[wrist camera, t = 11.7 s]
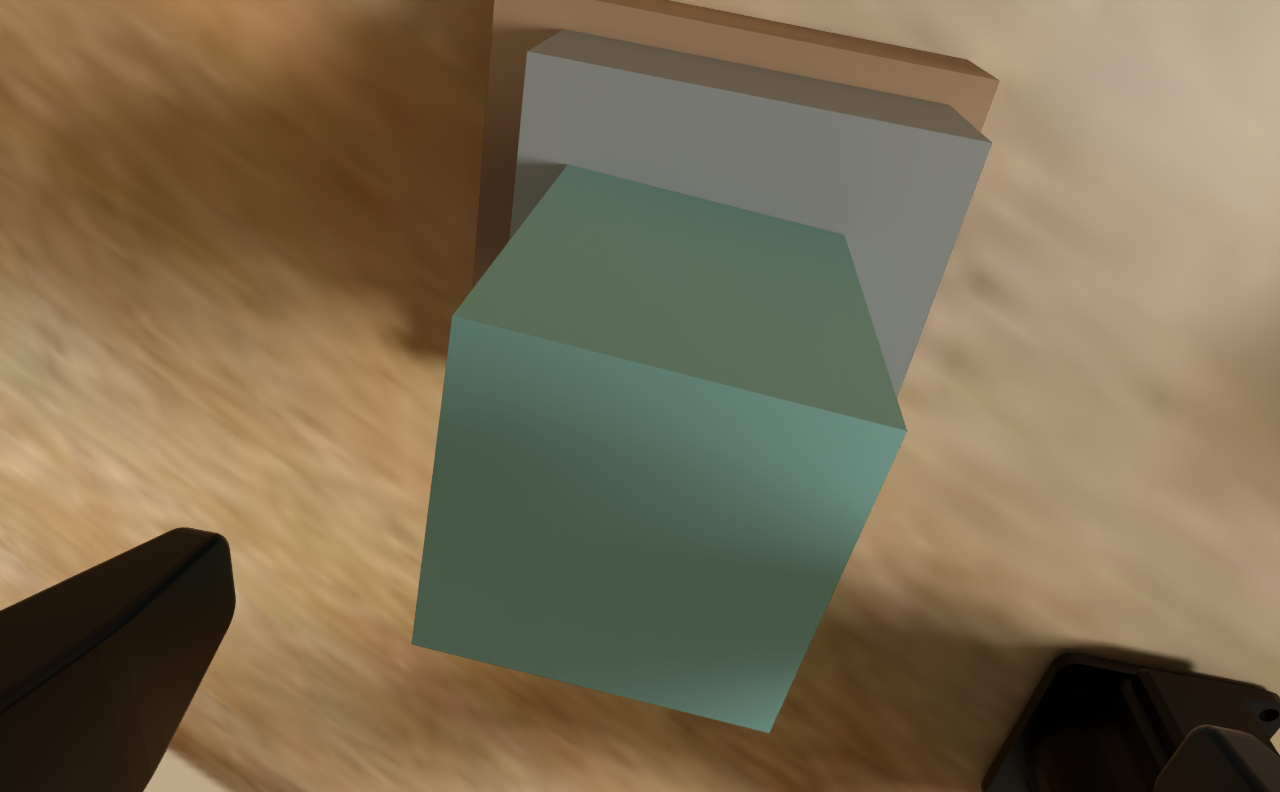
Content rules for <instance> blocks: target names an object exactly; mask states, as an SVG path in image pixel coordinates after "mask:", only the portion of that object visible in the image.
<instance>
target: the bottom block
mask: <svg viewBox="0 0 1280 792" xmlns="http://www.w3.org/2000/svg"><path fill="white" fill-rule="evenodd" d="M564 29H567V30H572V31H577V32H582V33H587V34H592V35H597V36H602V37H607V38H612V39H618V40H623V41H628V42H633V43H638V44H643V45H648V46H653V47H658V48H663V49H668V50H673V51H679V52H684V53H689V54H694V55H699V56H704V57H709V58H714V59H719V60H724V61H729V62H734V63H740V64H745V65H750V66H755V67H760V68H765V69H770V70H775V71H780V72H785V73H790V74H796V75H801V76H806V77H811V78H816V79H821V80H826V81H831V82H836V83H841V84H846V85H851V86H857V87H862V88H867V89H872V90H877V91H882V92H887V93H892V94H897V95H902V96H907V97H912V98H918V99H923V100H928V101H933V102H938V103H943V104H948V105H950V106H951V107H953V108H954V109H955V110H956V111H957V112H958V113H959V114H960V115H961V116H963V117H964V118H965V119H966V120H967V121H968V122H969V123H970V124H972V125H973V126H974V127H975V128H976V129H977V130H978V131H979V132H981V130H982V127H983V124H984V122H985V119H986V116H987V113H988V111H989V108H990V105H991V103H992V100H993V97H994V94H995V92H996V89H997V86H998V84H999V80H998V79H996V78H995V77H993V76H992V75H990V74H989V73H987V72H986V71H984V70H983V69H981V68H979V67H978V66H976V65H975V64H973V63H972V62H970V61H969V60H966V59H961V58H956V57H951V56H946V55H941V54H936V53H931V52H926V51H921V50H915V49H910V48H905V47H900V46H895V45H890V44H885V43H880V42H875V41H870V40H865V39H860V38H855V37H850V36H845V35H840V34H835V33H830V32H825V31H820V30H815V29H810V28H805V27H800V26H795V25H790V24H785V23H779V22H774V21H769V20H764V19H759V18H754V17H749V16H744V15H739V14H734V13H729V12H724V11H719V10H714V9H709V8H704V7H699V6H694V5H689V4H684V3H679V2H674V1H669V0H494V10H493V24H492V37H491V51H490V64H489V78H488V91H487V105H486V118H485V131H484V145H483V158H482V172H481V185H480V199H479V212H478V225H477V239H476V252H475V266H474V279H473V288H474V287H475V285H476V284H477V283H478V281H479V280H480V279H481V277H482V276H483V275H484V274H485V272H486V271H487V270H488V268H489V267H490V266H491V264H492V263H493V262H494V260H495V259H496V258H497V257H498V255H499V254H500V253H501V251H502V250H503V249H504V247H505V246H506V245H507V243H508V242H509V239H510V229H511V218H512V208H513V197H514V186H515V176H516V165H517V155H518V144H519V133H520V123H521V112H522V102H523V91H524V80H525V70H526V59H527V51H529V50H530V49H532V48H534V47H535V46H537V45H539V44H540V43H542V42H544V41H545V40H547V39H549V38H550V37H552V36H554V35H555V34H557V33H559V32H560V31H562V30H564Z"/></svg>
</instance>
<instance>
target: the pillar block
mask: <svg viewBox="0 0 1280 792" xmlns="http://www.w3.org/2000/svg"><path fill="white" fill-rule="evenodd" d="M906 432H907V429H906V426H905V423H904V420H903V417H902V413H901V410H900V407H899V404H898V401H897V398H896V395H895V392H894V388H893V385H892V382H891V379H890V376H889V373H888V370H887V366H886V363H885V360H884V357H883V354H882V351H881V348H880V345H879V341H878V338H877V335H876V332H875V329H874V326H873V323H872V319H871V316H870V313H869V310H868V307H867V304H866V301H865V298H864V294H863V291H862V288H861V285H860V282H859V279H858V276H857V272H856V269H855V266H854V263H853V260H852V257H851V254H850V251H849V247H848V244H847V241H846V238H845V235H843V234H839V233H835V232H831V231H827V230H823V229H819V228H815V227H811V226H807V225H804V224H800V223H796V222H792V221H788V220H784V219H780V218H776V217H772V216H768V215H764V214H761V213H757V212H753V211H749V210H745V209H741V208H737V207H733V206H729V205H725V204H722V203H718V202H714V201H710V200H706V199H702V198H698V197H694V196H690V195H686V194H682V193H679V192H675V191H671V190H667V189H663V188H659V187H655V186H651V185H647V184H643V183H640V182H636V181H632V180H628V179H624V178H620V177H616V176H612V175H608V174H604V173H600V172H596V171H592V170H589V169H585V168H581V167H577V166H573V165H569V164H568V165H567V166H566V168H565V169H564V170H563V171H562V173H561V174H560V175H559V177H558V178H557V179H556V181H555V182H554V183H553V185H552V186H551V187H550V188H549V190H548V191H547V192H546V194H545V195H544V196H543V198H542V199H541V200H540V202H539V203H538V204H537V205H536V207H535V208H534V209H533V211H532V212H531V213H530V215H529V216H528V217H527V219H526V220H525V221H524V223H523V224H522V225H521V226H520V228H519V229H518V230H517V232H516V233H515V234H514V236H513V237H512V238H511V240H510V241H509V242H508V243H507V245H506V246H505V247H504V249H503V250H502V251H501V253H500V254H499V255H498V257H497V258H496V259H495V260H494V262H493V263H492V264H491V266H490V267H489V268H488V270H487V271H486V272H485V274H484V275H483V276H482V277H481V279H480V280H479V281H478V283H477V284H476V285H475V287H474V288H473V289H472V291H471V292H470V293H469V294H468V296H467V297H466V298H465V300H464V301H463V302H462V304H461V305H460V306H459V308H458V309H457V310H456V311H455V313H454V314H453V315H452V322H451V330H450V338H449V346H448V354H447V362H446V370H445V379H444V387H443V395H442V403H441V411H440V419H439V427H438V435H437V443H436V451H435V459H434V467H433V476H432V484H431V492H430V500H429V508H428V516H427V524H426V532H425V540H424V548H423V556H422V564H421V573H420V581H419V589H418V597H417V605H416V613H415V621H414V629H413V637H412V645H416V646H420V647H424V648H428V649H432V650H436V651H440V652H444V653H448V654H452V655H456V656H460V657H464V658H468V659H472V660H476V661H480V662H484V663H488V664H492V665H497V666H501V667H505V668H509V669H513V670H517V671H521V672H525V673H529V674H533V675H537V676H541V677H545V678H549V679H553V680H557V681H561V682H565V683H569V684H573V685H577V686H581V687H585V688H589V689H593V690H597V691H601V692H605V693H609V694H613V695H617V696H621V697H625V698H629V699H633V700H637V701H642V702H646V703H650V704H654V705H658V706H662V707H666V708H670V709H674V710H678V711H682V712H686V713H690V714H694V715H698V716H702V717H706V718H710V719H714V720H718V721H722V722H726V723H730V724H734V725H738V726H742V727H746V728H750V729H754V730H758V731H762V732H766V733H770V731H771V728H772V726H773V724H774V722H775V720H776V717H777V715H778V713H779V711H780V709H781V706H782V704H783V702H784V700H785V698H786V695H787V693H788V691H789V689H790V687H791V684H792V682H793V680H794V678H795V676H796V674H797V671H798V669H799V667H800V665H801V663H802V660H803V658H804V656H805V654H806V652H807V649H808V647H809V645H810V643H811V641H812V638H813V636H814V634H815V632H816V630H817V627H818V625H819V623H820V621H821V619H822V617H823V614H824V612H825V610H826V608H827V606H828V603H829V601H830V599H831V597H832V595H833V592H834V590H835V588H836V586H837V584H838V581H839V579H840V577H841V575H842V573H843V570H844V568H845V566H846V564H847V562H848V559H849V557H850V555H851V553H852V551H853V549H854V546H855V544H856V542H857V540H858V538H859V535H860V533H861V531H862V529H863V527H864V524H865V522H866V520H867V518H868V516H869V513H870V511H871V509H872V507H873V505H874V502H875V500H876V498H877V496H878V494H879V491H880V489H881V487H882V485H883V483H884V481H885V478H886V476H887V474H888V472H889V470H890V467H891V465H892V463H893V461H894V459H895V456H896V454H897V452H898V450H899V448H900V445H901V443H902V441H903V439H904V437H905V434H906Z"/></svg>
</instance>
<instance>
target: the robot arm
mask: <svg viewBox="0 0 1280 792" xmlns="http://www.w3.org/2000/svg"><path fill="white" fill-rule="evenodd" d="M235 603H236V596H235V588H234V580H233V571H232V563H231V554H230V548H229V543H228V541H227V540H226V538H225V537H224V536H222V535H220V534H218V533H214V532H208V531H203V530H198V529H193V528H188V527H181V528H176V529H174V530H171V531H169V532H166V533H164V534H162V535H160V536H158V537H156V538H154V539H152V540H149V541H147V542H145V543H143V544H141V545H139V546H137V547H135V548H132V549H130V550H128V551H126V552H124V553H122V554H120V555H118V556H115V557H113V558H111V559H109V560H107V561H105V562H103V563H101V564H98V565H96V566H94V567H92V568H90V569H88V570H86V571H84V572H81V573H79V574H77V575H75V576H73V577H71V578H69V579H67V580H65V581H62V582H60V583H58V584H56V585H54V586H52V587H50V588H48V589H45V590H43V591H41V592H39V593H37V594H35V595H33V596H31V597H28V598H26V599H24V600H22V601H20V602H18V603H16V604H14V605H11V606H9V607H7V608H5V609H3V610H1V611H0V792H143V791H144V789H145V788H146V786H147V784H148V783H149V781H150V779H151V778H152V776H153V774H154V772H155V771H156V769H157V767H158V765H159V763H160V761H161V759H162V758H163V756H164V754H165V752H166V750H167V748H168V746H169V744H170V742H171V740H172V738H173V736H174V734H175V732H176V730H177V728H178V726H179V724H180V723H181V721H182V719H183V717H184V715H185V713H186V711H187V709H188V707H189V705H190V703H191V701H192V699H193V697H194V695H195V693H196V691H197V689H198V687H199V685H200V683H201V681H202V679H203V677H204V675H205V673H206V671H207V669H208V667H209V665H210V663H211V661H212V659H213V657H214V655H215V653H216V651H217V649H218V647H219V645H220V644H221V642H222V640H223V638H224V636H225V634H226V632H227V630H228V628H229V625H230V623H231V621H232V618H233V615H234V610H235ZM1071 670H1075V671H1072V672H1069V671H1071ZM1279 728H1280V697H1279V696H1278V695H1277V694H1275V693H1273V692H1269V691H1264V690H1259V689H1254V688H1249V687H1244V686H1239V685H1234V684H1229V683H1224V682H1219V681H1214V680H1209V679H1204V678H1199V677H1194V676H1189V675H1184V674H1179V673H1174V672H1169V671H1164V670H1159V669H1154V668H1149V667H1143V666H1138V665H1133V664H1128V663H1123V662H1118V661H1113V660H1108V659H1103V658H1098V657H1093V656H1088V655H1083V654H1078V653H1066V654H1062V655H1060V656H1058V657H1056V658H1055V659H1054V660H1053V662H1052V663H1051V665H1050V666H1049V668H1048V670H1047V672H1046V673H1045V675H1044V677H1043V678H1042V680H1041V682H1040V684H1039V685H1038V687H1037V689H1036V690H1035V692H1034V694H1033V696H1032V697H1031V699H1030V701H1029V702H1028V704H1027V706H1026V708H1025V709H1024V711H1023V713H1022V715H1021V716H1020V718H1019V720H1018V721H1017V723H1016V725H1015V727H1014V728H1013V730H1012V732H1011V733H1010V735H1009V737H1008V739H1007V740H1006V742H1005V744H1004V746H1003V747H1002V749H1001V751H1000V752H999V754H998V756H997V758H996V759H995V761H994V763H993V764H992V766H991V768H990V770H989V771H988V773H987V775H986V776H985V778H984V780H983V782H982V784H981V789H982V792H1280V755H1279V754H1278V752H1277V751H1276V749H1275V747H1274V746H1273V744H1272V743H1271V741H1270V739H1271V738H1272V736H1273V735H1274V734H1275V733H1276V732H1277V730H1278V729H1279Z"/></svg>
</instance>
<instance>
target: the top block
mask: <svg viewBox="0 0 1280 792" xmlns="http://www.w3.org/2000/svg"><path fill="white" fill-rule="evenodd" d="M991 144H992V142H991V141H989V140H988V139H987V138H986V137H985V136H984V135H983V134H982V133H980V132H979V131H978V130H977V129H976V128H975V127H974V126H973V125H972V124H970V123H969V122H968V121H967V120H966V119H965V118H964V117H963V116H961V115H960V114H959V113H958V112H957V111H956V110H955V109H954V108H953V107H951V106H950V105H948V104H943V103H938V102H933V101H928V100H923V99H918V98H912V97H907V96H902V95H897V94H892V93H887V92H882V91H877V90H872V89H867V88H862V87H857V86H851V85H846V84H841V83H836V82H831V81H826V80H821V79H816V78H811V77H806V76H801V75H796V74H790V73H785V72H780V71H775V70H770V69H765V68H760V67H755V66H750V65H745V64H740V63H734V62H729V61H724V60H719V59H714V58H709V57H704V56H699V55H694V54H689V53H684V52H679V51H673V50H668V49H663V48H658V47H653V46H648V45H643V44H638V43H633V42H628V41H623V40H618V39H612V38H607V37H602V36H597V35H592V34H587V33H582V32H577V31H572V30H567V29H564V30H562V31H560V32H559V33H557V34H555V35H554V36H552V37H550V38H549V39H547V40H545V41H544V42H542V43H540V44H539V45H537V46H535V47H534V48H532V49H530V50H529V51H527V59H526V70H525V80H524V91H523V102H522V112H521V123H520V133H519V144H518V155H517V165H516V176H515V186H514V197H513V208H512V218H511V229H510V239H509V241H510V240H511V238H512V237H513V236H514V234H515V233H516V232H517V230H518V229H519V228H520V226H521V225H522V224H523V223H524V221H525V220H526V219H527V217H528V216H529V215H530V213H531V212H532V211H533V209H534V208H535V207H536V205H537V204H538V203H539V202H540V200H541V199H542V198H543V196H544V195H545V194H546V192H547V191H548V190H549V188H550V187H551V186H552V185H553V183H554V182H555V181H556V179H557V178H558V177H559V175H560V174H561V173H562V171H563V170H564V169H565V168H566V166H567V165H568V164H569V165H573V166H577V167H581V168H585V169H589V170H592V171H596V172H600V173H604V174H608V175H612V176H616V177H620V178H624V179H628V180H632V181H636V182H640V183H643V184H647V185H651V186H655V187H659V188H663V189H667V190H671V191H675V192H679V193H682V194H686V195H690V196H694V197H698V198H702V199H706V200H710V201H714V202H718V203H722V204H725V205H729V206H733V207H737V208H741V209H745V210H749V211H753V212H757V213H761V214H764V215H768V216H772V217H776V218H780V219H784V220H788V221H792V222H796V223H800V224H804V225H807V226H811V227H815V228H819V229H823V230H827V231H831V232H835V233H839V234H843V235H845V238H846V241H847V244H848V247H849V251H850V254H851V257H852V260H853V263H854V266H855V269H856V272H857V276H858V279H859V282H860V285H861V288H862V291H863V294H864V298H865V301H866V304H867V307H868V310H869V313H870V316H871V319H872V323H873V326H874V329H875V332H876V335H877V338H878V341H879V345H880V348H881V351H882V354H883V357H884V360H885V363H886V366H887V370H888V373H889V376H890V379H891V382H892V385H893V388H894V392H895V395H896V398H897V396H898V394H899V391H900V388H901V386H902V383H903V380H904V378H905V375H906V372H907V370H908V367H909V364H910V361H911V359H912V356H913V353H914V351H915V348H916V345H917V343H918V340H919V337H920V335H921V332H922V329H923V327H924V324H925V321H926V319H927V316H928V313H929V311H930V308H931V305H932V303H933V300H934V297H935V295H936V292H937V289H938V286H939V284H940V281H941V278H942V276H943V273H944V270H945V268H946V265H947V262H948V260H949V257H950V254H951V252H952V249H953V246H954V244H955V241H956V238H957V236H958V233H959V230H960V228H961V225H962V222H963V219H964V217H965V214H966V211H967V209H968V206H969V203H970V201H971V198H972V195H973V193H974V190H975V187H976V185H977V182H978V179H979V177H980V174H981V171H982V169H983V166H984V163H985V161H986V158H987V155H988V152H989V150H990V147H991Z"/></svg>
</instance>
